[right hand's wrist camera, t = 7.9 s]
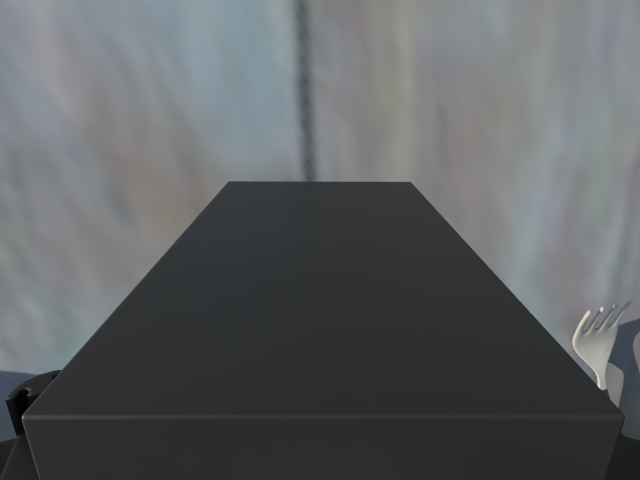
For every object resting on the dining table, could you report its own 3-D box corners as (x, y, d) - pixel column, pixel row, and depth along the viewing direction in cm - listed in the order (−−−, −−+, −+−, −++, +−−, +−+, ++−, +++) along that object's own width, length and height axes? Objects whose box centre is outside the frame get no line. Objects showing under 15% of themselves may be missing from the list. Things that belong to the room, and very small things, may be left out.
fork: (588, 490, 30) (606, 517, 28) (565, 295, 25) (585, 312, 23) (626, 482, 30) (647, 508, 28) (611, 283, 25) (635, 300, 23)
